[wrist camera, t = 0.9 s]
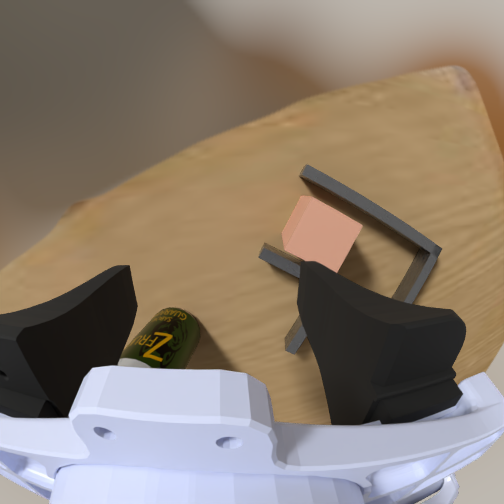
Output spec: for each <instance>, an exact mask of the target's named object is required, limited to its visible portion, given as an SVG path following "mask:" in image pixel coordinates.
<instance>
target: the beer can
mask: <svg viewBox="0 0 504 504" xmlns="http://www.w3.org/2000/svg"><path fill="white" fill-rule="evenodd" d="M199 339H200V328H199V326H198V323H197V321H196V319H195V318H194V317H193V316H192V315H191V314H190V313H189V312H187V311H186V310H184V309H181V308H166V309H162V310H161V311H160V312H158V313H157V314H156V315H155V316H154V317H153V318H152V319H151V321H150V322H149V323H148V324H147V325H146V326H145V327H144V328H143V329H142V330H141V331H140V333H139V334H138V335H137V336H136V337H135V338H134V339H133V340H132V341H131V342H130V344H129V345H128V346H127V347H126V348H125V349H124V350H123V352H122V354H121V357H120V360H119V362H118V365H117V366H125V367H139V368H157V369H186V367H187V365H188V363H189V361H190V359H191V357H192V355H193V353H194V351H195V349H196V347H197V344H198V342H199Z"/></svg>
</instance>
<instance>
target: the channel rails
mask: <svg viewBox="0 0 504 504" xmlns="http://www.w3.org/2000/svg"><path fill="white" fill-rule="evenodd" d="M299 176H300V177H302V178H304V179H306V180H307V181H309V182H311V183H313V184H315V185H317V186H319V187H320V188H322V189H324V190H326V191H328V192H329V193H331V194H333V195H335V196H337V197H338V198H340V199H342V200H344V201H345V202H347V203H349V204H350V205H352V206H354V207H356V208H357V209H359V210H361V211H362V212H364V213H366V214H367V215H369V216H371V217H372V218H374V219H375V220H377V221H379V222H380V223H382V224H384V225H385V226H387V227H388V228H390V229H392V230H393V231H395V232H396V233H398V234H399V235H401V236H402V237H404V238H405V239H407V240H409V241H410V242H412V243H413V244H415V245H416V246H418V247H419V248H420V249H419V251H418V253H417V255H416V256H415V258H414V260H413V262H412V264H411V266H410V268H409V269H408V271H407V273H406V275H405V276H404V278H403V280H402V282H401V283H400V285H399V287H398V289H397V290H396V292H395V294H394V295H393V297H392V299H395V300H398V301H402V302H405V303H410V304H412V303H413V301H414V299H415V298H416V296H417V294H418V293H419V291H420V289H421V288H422V286H423V284H424V282H425V280H426V279H427V277H428V275H429V273H430V271H431V270H432V268H433V266H434V264H435V262H436V260H437V258H438V256H439V254H440V252H441V250H442V248H441V247H439V246H438V245H436V244H435V243H434V242H432V241H431V240H429V239H428V238H427V237H425V236H424V235H422V234H421V233H419V232H418V231H417V230H415V229H414V228H412V227H411V226H409V225H408V224H406V223H405V222H403V221H402V220H400V219H399V218H397V217H396V216H394V215H393V214H391V213H389V212H388V211H386V210H385V209H383V208H382V207H380V206H378V205H377V204H375V203H374V202H372V201H370V200H369V199H367V198H365V197H364V196H362V195H360V194H359V193H357V192H355V191H354V190H352V189H350V188H349V187H347V186H345V185H343V184H342V183H340V182H338V181H336V180H335V179H333V178H331V177H329V176H328V175H326V174H324V173H322V172H320V171H318V170H317V169H315V168H313V167H311V166H309V165H305V166H304V168H303V170H302V171H301V173H300V175H299ZM259 258H260V259H262V260H264V261H266V262H268V263H270V264H272V265H274V266H276V267H278V268H280V269H282V270H284V271H286V272H288V273H290V274H292V275H294V276H296V277H298V278H299V277H300V265H301V261H300V260H298V259H296V258H294V257H292V256H290V255H288V254H286V253H284V252H282V251H280V250H278V249H276V248H275V247H273V246H271V245H269V244H267V243H264V245H263V247H262V249H261V251H260V253H259ZM306 336H307V335H306V332H305V330H304V327H303V325H302V322H301V318H300V315H299V317H298V318H297V320H296V321H295V323H294V325H293V326H292V328H291V329H290V331H289V333H288V334H287V336H286V337H285V351H287V352H290V353H292V354H295V353H296V351H297V350H298V348H299V347H300V345H301V344H302V342H303V341H304V339H305V338H306Z"/></svg>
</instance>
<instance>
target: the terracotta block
mask: <svg viewBox="0 0 504 504" xmlns="http://www.w3.org/2000/svg"><path fill="white" fill-rule="evenodd" d="M362 226H363V225H361V224H360V223H358V222H356V221H354V220H353V219H351V218H349V217H348V216H346V215H344V214H342V213H341V212H339V211H337V210H335V209H333V208H332V207H330V206H328V205H326V204H325V203H323V202H321V201H319V200H317V199H315V198H314V197H310V196H302V195H301V197H300V199H299V201H298V203H297V205H296V207H295V208H294V210H293V212H292V214H291V216H290V218H289V220H288V222H287V224H286V226H285V228H284V230H283V231H282V239H283V244H284V250H286V251H288V252H289V253H291V254H293V255H295V256H297V257H299V258H301V259H303V260H305V261H316V262H319V263H321V264H322V265H324V266H326V267H328V268H329V269H331V270H333V271H334V272H336V273H337V272H338V270H339V268H340V267H341V265H342V263H343V261H344V259H345V258H346V256H347V254H348V252H349V250H350V249H351V247H352V245H353V243H354V241H355V239H356V238H357V236H358V234H359V232H360V230H361V228H362Z"/></svg>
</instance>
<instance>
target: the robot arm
mask: <svg viewBox="0 0 504 504" xmlns="http://www.w3.org/2000/svg"><path fill="white" fill-rule="evenodd" d="M297 305H298V310H299V314H300V318H301V322H302V325H303V327H304V330H305V332H306V335H307V337H308V340H309V342H310V345H311V347H312V350H313V352H314V355H315V357H316V360H317V363H318V366H319V369H320V373H321V377H322V381H323V385H324V389H325V393H326V398H327V403H328V408H329V413H330V419H331V424H332V425H315V424H298V423H286V422H275V421H274V416H273V410H272V403H271V398H270V395H269V393H268V390H267V388H266V385H265V384H264V383H262V382H260V381H259V380H257V379H255V378H254V377H252V376H250V375H249V374H247V373H241V372H234V371H228V370H221V369H213V370H192V369H157V368H139V367H125V366H117V365H118V362H119V360H120V357H121V354H122V352H123V349H124V347H125V344H126V342H127V339H128V337H129V334H130V332H131V329H132V327H133V324H134V320H135V316H136V311H137V307H138V305H137V301H136V296H135V291H134V286H133V281H132V276H131V271H130V265H117V266H114V267H112V268H110V269H108V270H106V271H104V272H102V273H100V274H99V275H97V276H95V277H94V278H92V279H90V280H89V281H87V282H85V283H83V284H82V285H80V286H78V287H76V288H74V289H73V290H71V291H69V292H67V293H65V294H63V295H61V296H59V297H57V298H54V299H52V300H50V301H47V302H45V303H42V304H39V305H36V306H33V307H30V308H27V309H24V310H20V311H16V312H11V313H7V314H1V315H0V474H1V475H2V476H4V477H6V478H8V479H9V480H11V481H13V482H15V483H16V484H18V485H20V486H22V487H24V488H26V489H28V490H30V491H31V492H33V493H35V494H37V495H39V496H41V497H44V498H46V499H48V500H50V501H49V504H415V503H416V502H419V501H420V500H422V499H424V498H426V497H428V496H429V495H431V494H433V493H435V492H437V491H438V490H440V489H441V490H440V491H439V492H438V493H437V494H436V495H435V496H433V497H432V498H430V499H428V500H427V501H425V502H423V503H421V504H453V502H454V501H455V499H456V498H457V496H458V493H459V492H458V489H459V485H458V483H457V480H456V478H455V473H454V472H456V471H458V470H460V469H461V468H463V467H465V466H466V465H468V464H470V463H471V462H473V461H475V460H476V459H478V458H480V457H481V456H482V455H483V454H484V453H485V452H486V451H487V450H488V449H489V448H490V447H491V446H492V445H493V444H494V443H495V442H496V441H497V439H498V438H499V437H500V436H501V435H502V434H503V433H504V397H503V396H502V394H501V393H500V392H499V390H498V389H497V388H496V386H495V385H494V384H493V382H492V381H491V380H490V379H489V377H488V376H487V375H486V374H485V372H481V373H479V374H476V375H474V376H471V377H469V378H466V379H465V380H463V381H461V382H460V383H459V384H458V385H457V384H456V383H455V381H454V380H453V379H454V378H455V376H456V372H455V371H454V370H453V368H452V366H453V364H454V362H455V360H456V358H457V356H458V354H459V352H460V350H461V348H462V345H463V343H464V340H465V335H466V326H465V323H464V322H463V320H462V319H461V318H460V317H459V316H458V315H457V314H456V313H455V312H454V311H453V310H451V309H442V308H432V307H425V306H419V305H414V304H410V303H405V302H402V301H398V300H395V299H392V298H388V297H385V296H383V295H380V294H378V293H375V292H373V291H370V290H368V289H366V288H363V287H361V286H360V285H358V284H356V283H354V282H352V281H350V280H348V279H346V278H345V277H343V276H341V275H339V274H338V273H336V272H334V271H333V270H331V269H329V268H328V267H326V266H324V265H322V264H321V263H319V262H316V261H301V265H300V277H299V287H298V298H297Z"/></svg>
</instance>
